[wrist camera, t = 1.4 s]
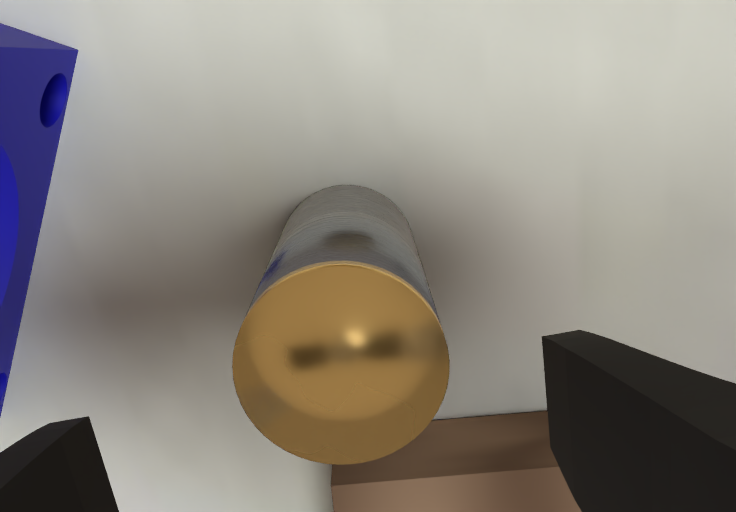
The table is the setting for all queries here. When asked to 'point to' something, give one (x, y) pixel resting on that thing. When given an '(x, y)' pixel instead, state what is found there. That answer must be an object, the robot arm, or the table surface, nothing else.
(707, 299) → the table surface
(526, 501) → the dock plate
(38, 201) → the blue cradle block
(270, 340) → the peg
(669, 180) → the table surface
